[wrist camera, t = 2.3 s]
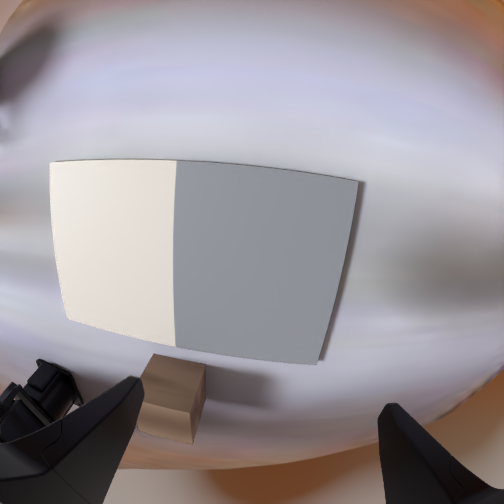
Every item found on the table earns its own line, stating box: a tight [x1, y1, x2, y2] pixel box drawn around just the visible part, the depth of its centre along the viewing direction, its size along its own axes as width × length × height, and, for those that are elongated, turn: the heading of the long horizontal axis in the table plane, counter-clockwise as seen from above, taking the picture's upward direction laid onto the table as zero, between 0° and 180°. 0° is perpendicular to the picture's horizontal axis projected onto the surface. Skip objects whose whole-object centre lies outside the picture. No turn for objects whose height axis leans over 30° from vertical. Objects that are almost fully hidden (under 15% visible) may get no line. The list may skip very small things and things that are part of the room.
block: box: [137, 354, 205, 445], centre depth 22 cm, size 5×5×6 cm
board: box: [50, 159, 359, 365], centre depth 20 cm, size 15×24×1 cm, turn 84°
